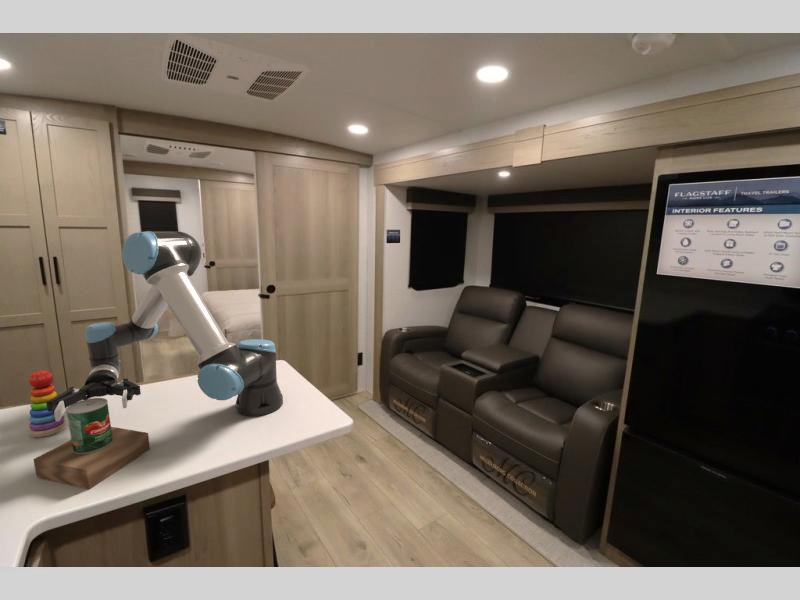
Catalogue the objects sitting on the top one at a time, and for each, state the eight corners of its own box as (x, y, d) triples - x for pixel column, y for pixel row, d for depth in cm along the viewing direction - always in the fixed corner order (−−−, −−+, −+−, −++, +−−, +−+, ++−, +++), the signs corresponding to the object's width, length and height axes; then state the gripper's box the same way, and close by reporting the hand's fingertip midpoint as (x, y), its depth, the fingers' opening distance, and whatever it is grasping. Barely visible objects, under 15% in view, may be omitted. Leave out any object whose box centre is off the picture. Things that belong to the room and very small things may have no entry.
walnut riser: (150, 449, 100) (148, 432, 99) (89, 489, 85) (86, 470, 84) (103, 440, 104) (100, 424, 103) (36, 477, 88) (33, 459, 87)
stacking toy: (32, 442, 102) (20, 379, 99) (27, 432, 107) (15, 371, 103) (69, 430, 109) (59, 370, 105) (63, 421, 113) (53, 364, 110)
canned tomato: (104, 451, 91) (98, 410, 88) (65, 456, 88) (58, 414, 86) (118, 434, 98) (113, 396, 96) (83, 438, 96) (76, 399, 94)
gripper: (152, 383, 120) (150, 411, 103) (49, 401, 107) (28, 436, 90) (149, 362, 119) (147, 386, 102) (45, 377, 106) (22, 408, 88)
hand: (91, 409), depth 96 cm, fingers open, 13 cm apart
